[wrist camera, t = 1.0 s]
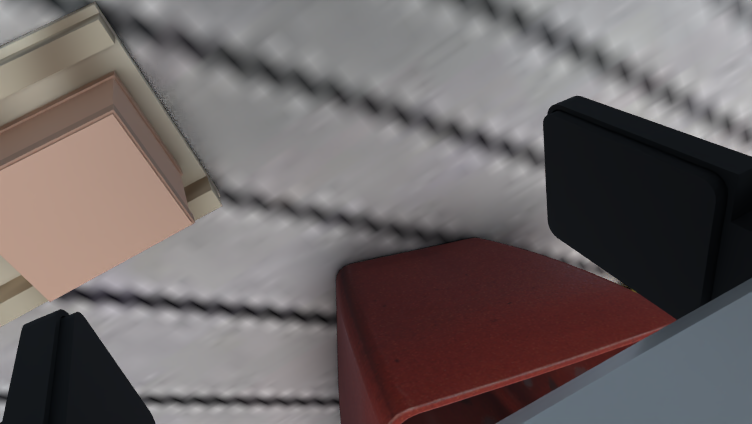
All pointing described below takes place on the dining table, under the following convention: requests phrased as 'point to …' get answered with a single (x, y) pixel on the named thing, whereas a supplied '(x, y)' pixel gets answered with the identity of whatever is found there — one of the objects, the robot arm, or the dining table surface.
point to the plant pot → (473, 332)
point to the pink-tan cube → (85, 187)
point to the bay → (65, 74)
